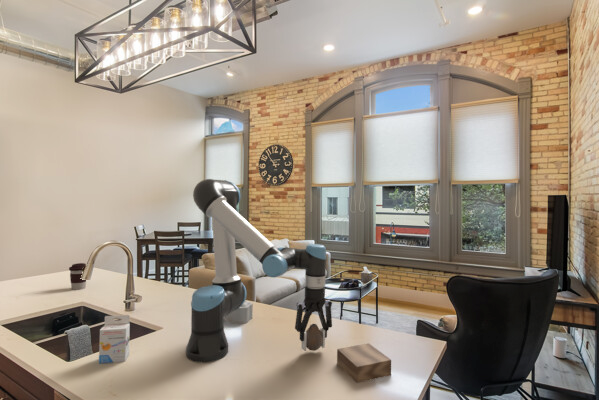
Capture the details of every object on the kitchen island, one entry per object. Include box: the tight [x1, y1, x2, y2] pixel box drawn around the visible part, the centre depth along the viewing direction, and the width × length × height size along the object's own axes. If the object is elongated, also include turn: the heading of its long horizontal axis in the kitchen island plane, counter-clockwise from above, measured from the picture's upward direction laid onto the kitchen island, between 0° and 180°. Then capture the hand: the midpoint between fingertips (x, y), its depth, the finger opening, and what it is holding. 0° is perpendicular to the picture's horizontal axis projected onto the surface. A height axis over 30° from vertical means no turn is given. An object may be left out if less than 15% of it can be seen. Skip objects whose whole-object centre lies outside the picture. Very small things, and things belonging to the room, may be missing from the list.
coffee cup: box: [68, 262, 87, 291], centre depth 201 cm, size 10×10×15 cm
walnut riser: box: [336, 343, 392, 384], centre depth 110 cm, size 13×13×5 cm
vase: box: [305, 323, 323, 351], centre depth 121 cm, size 7×7×9 cm
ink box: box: [98, 314, 131, 364], centre depth 114 cm, size 8×5×15 cm, turn 103°
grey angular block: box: [224, 300, 254, 325], centre depth 154 cm, size 10×13×9 cm
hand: (313, 347), depth 121 cm, fingers closed on vase, 7 cm apart
